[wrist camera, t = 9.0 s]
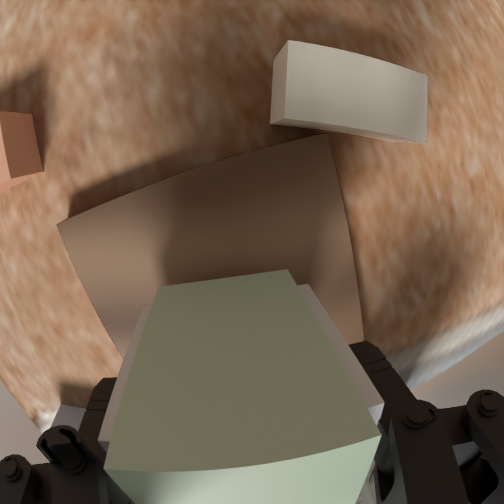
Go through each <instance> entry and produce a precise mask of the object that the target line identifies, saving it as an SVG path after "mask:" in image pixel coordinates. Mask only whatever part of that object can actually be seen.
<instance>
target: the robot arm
mask: <svg viewBox="0 0 504 504" xmlns="http://www.w3.org/2000/svg"><path fill="white" fill-rule="evenodd" d="M298 288H299V290H300V291H301V293H302V295H303V296H304V298H305V300H306V301H307V303H308V305H309V307H310V308H311V310H312V312H313V314H314V315H315V317H316V319H317V320H318V322H319V324H320V326H321V327H322V329H323V331H324V333H325V334H326V336H327V338H328V340H329V341H330V343H331V345H332V347H333V348H334V350H335V352H336V354H337V355H338V357H339V359H340V361H341V362H342V364H343V366H344V368H345V370H346V371H347V373H348V375H349V377H350V378H351V380H352V382H353V384H354V386H355V387H356V389H357V391H358V393H359V395H360V396H361V398H362V400H363V402H364V404H365V405H366V407H367V409H368V411H369V413H370V414H371V416H372V418H373V420H374V422H375V424H376V425H377V427H378V429H379V431H380V433H381V438H380V441H379V444H378V447H377V450H376V453H375V456H374V458H373V459H374V461H375V465H374V468H373V470H372V473H371V475H370V478H369V484H372V483H373V481H374V484H375V493H376V503H377V504H504V397H503V396H502V395H500V394H499V393H498V392H495V391H492V390H480V391H477V392H475V393H474V394H472V395H471V396H470V398H469V400H468V402H467V404H466V405H464V406H458V407H451V408H444V409H437V408H436V407H435V406H434V405H432V404H431V403H429V402H426V401H423V400H417V399H416V398H415V397H414V395H413V394H412V393H411V391H410V390H409V388H408V387H407V386H406V384H405V383H404V382H403V380H402V379H401V378H400V376H399V375H398V374H397V372H396V371H395V370H394V368H392V365H391V364H390V363H389V361H388V360H386V358H385V356H384V355H383V354H382V352H381V351H380V350H379V348H378V347H376V346H374V345H373V344H371V343H369V342H368V341H362V342H358V343H354V344H350V345H348V344H347V342H346V341H345V339H344V338H343V336H342V335H341V333H340V332H339V330H338V329H337V327H336V325H335V324H334V322H333V321H332V319H331V318H330V316H329V315H328V313H327V312H326V310H325V309H324V307H323V306H322V304H321V303H320V301H319V300H318V298H317V297H316V295H315V294H314V292H313V291H312V289H311V288H310V286H309V285H308V284H304V285H298ZM150 309H151V306H148V307H143V309H142V311H141V314H140V316H139V319H138V322H137V324H136V327H135V329H134V332H133V335H132V337H131V340H130V343H129V346H128V348H127V351H126V354H125V357H124V359H123V362H122V365H121V368H120V371H119V374H118V377H115V378H103V379H102V380H101V381H100V382H99V383H98V384H97V385H96V386H95V388H94V390H93V392H92V395H91V397H90V402H88V405H87V408H86V411H85V413H84V416H83V419H82V421H81V424H80V427H79V430H78V431H77V430H76V429H75V428H73V427H71V426H69V425H58V426H54V427H51V428H50V429H48V430H46V431H45V432H44V433H43V434H42V435H41V437H40V438H39V439H38V442H37V445H36V446H37V448H38V449H39V450H40V451H41V452H42V453H43V455H44V456H45V457H46V458H47V459H48V460H49V461H50V463H44V464H35V465H31V464H30V463H29V462H28V461H27V460H26V458H25V457H23V456H20V455H13V454H12V455H10V456H7V457H5V458H4V459H3V460H1V461H0V504H135V503H134V502H133V501H132V500H131V499H130V498H129V497H128V496H127V495H126V494H125V493H124V491H123V490H122V489H121V488H120V487H119V486H118V485H117V484H116V483H115V482H114V480H113V479H112V478H111V477H110V476H109V475H108V474H107V472H106V471H105V470H104V469H103V468H104V464H105V460H106V456H107V451H108V447H109V443H110V439H111V435H112V432H113V428H114V424H115V420H116V417H117V413H118V409H119V406H120V402H121V399H122V395H123V392H124V389H125V385H126V382H127V379H128V375H129V372H130V369H131V366H132V362H133V359H134V356H135V353H136V350H137V347H138V344H139V341H140V338H141V335H142V332H143V329H144V326H145V323H146V320H147V317H148V314H149V312H150Z"/></svg>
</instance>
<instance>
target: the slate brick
mask: <svg viewBox="0 0 504 504" xmlns="http://www.w3.org/2000/svg"><path fill="white" fill-rule="evenodd" d="M85 411H86V408H80V407H74V406H69V405H64V404H61V405H60V407H59V410H58V412H57V414H56V416H55V419H54V421H53V423H52V426H51V427H54V426H58V425H69V426H71V427H73V428H75V429H76V430H77V431H78V430H79V427H80V424H81V421H82V419H83V416H84V413H85Z"/></svg>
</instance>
